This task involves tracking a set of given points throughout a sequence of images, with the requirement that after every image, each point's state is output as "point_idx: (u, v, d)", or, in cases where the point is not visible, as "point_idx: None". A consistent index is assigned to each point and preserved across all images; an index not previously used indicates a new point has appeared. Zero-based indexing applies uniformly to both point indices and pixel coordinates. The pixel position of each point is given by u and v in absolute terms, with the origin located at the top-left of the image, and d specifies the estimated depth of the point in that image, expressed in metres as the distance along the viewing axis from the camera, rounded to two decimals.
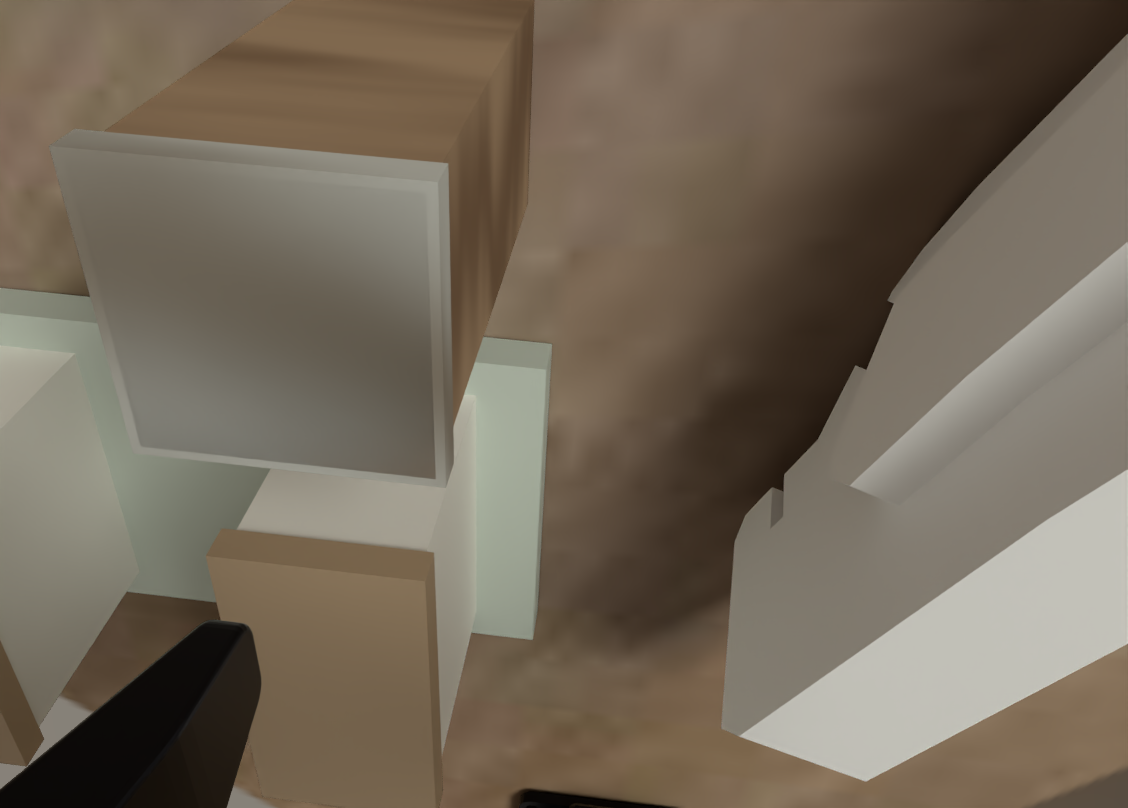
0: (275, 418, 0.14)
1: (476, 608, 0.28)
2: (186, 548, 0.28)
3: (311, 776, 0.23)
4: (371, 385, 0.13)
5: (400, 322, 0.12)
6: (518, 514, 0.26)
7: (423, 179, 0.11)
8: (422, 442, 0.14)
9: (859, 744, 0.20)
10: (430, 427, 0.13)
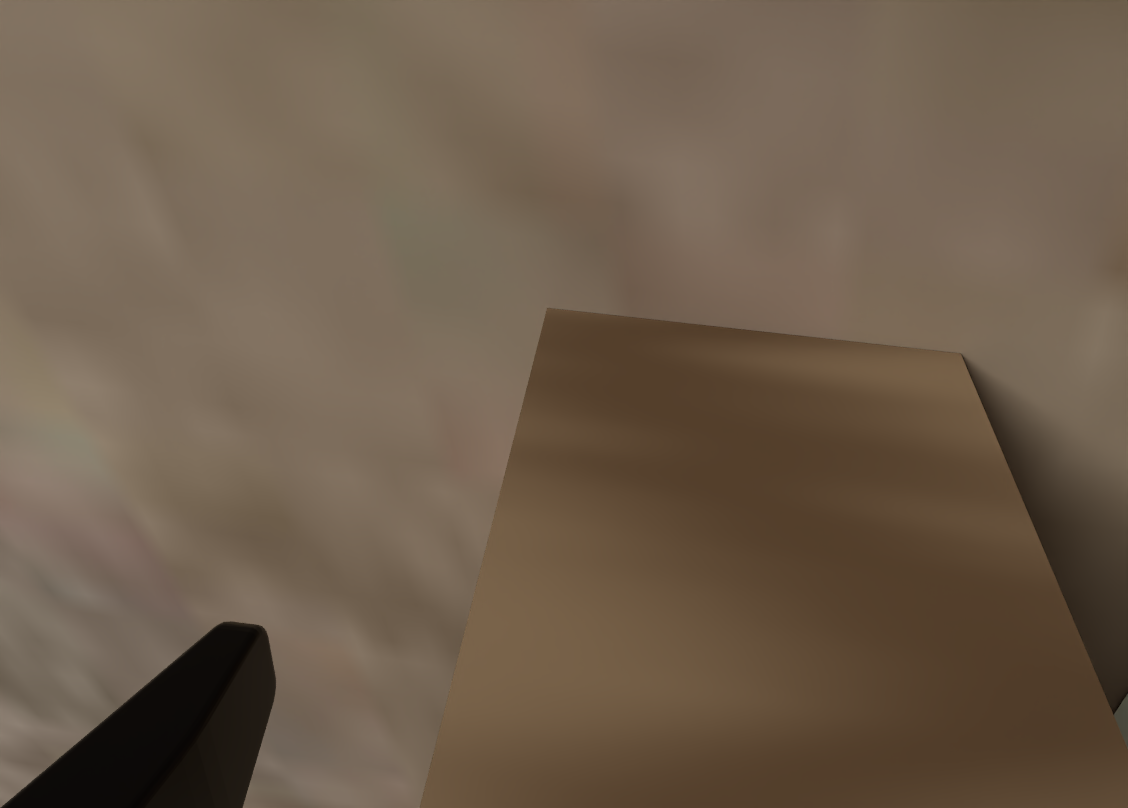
0: None
1: None
2: None
3: None
4: None
5: None
6: None
7: None
8: None
9: None
10: None
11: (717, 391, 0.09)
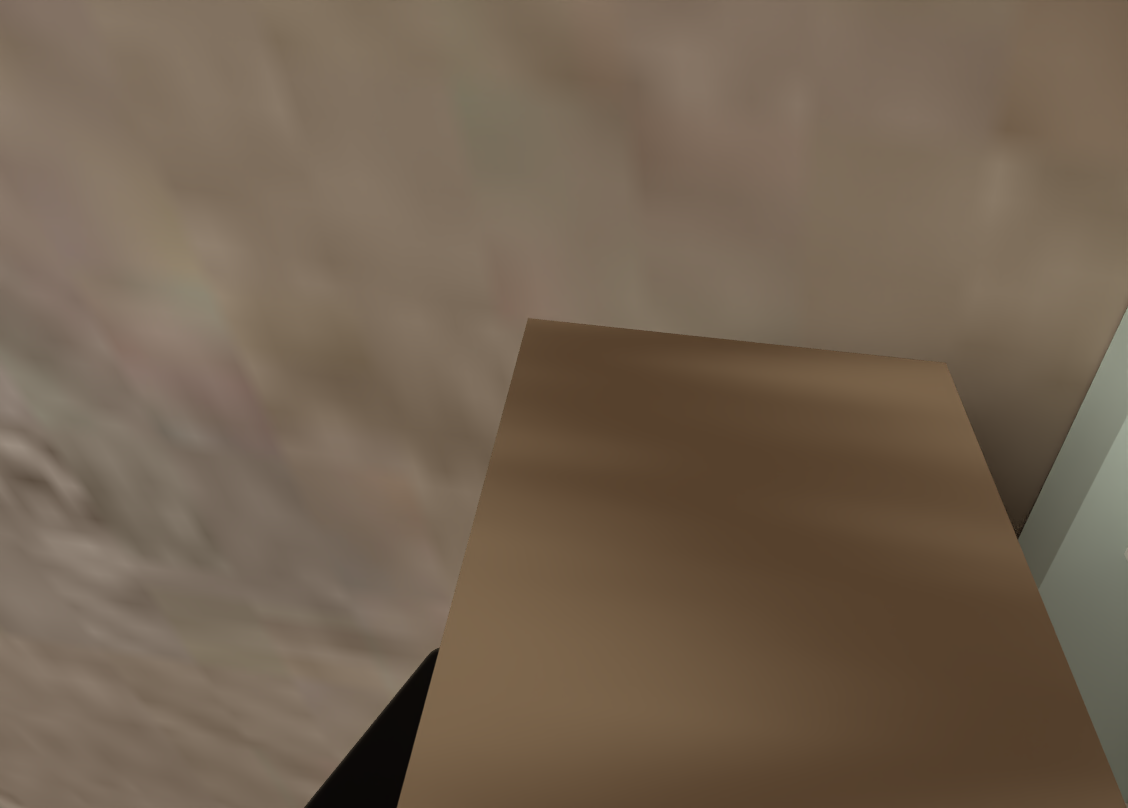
0: None
1: None
2: None
3: None
4: None
5: None
6: None
7: None
8: None
9: None
10: None
11: (699, 403, 0.09)
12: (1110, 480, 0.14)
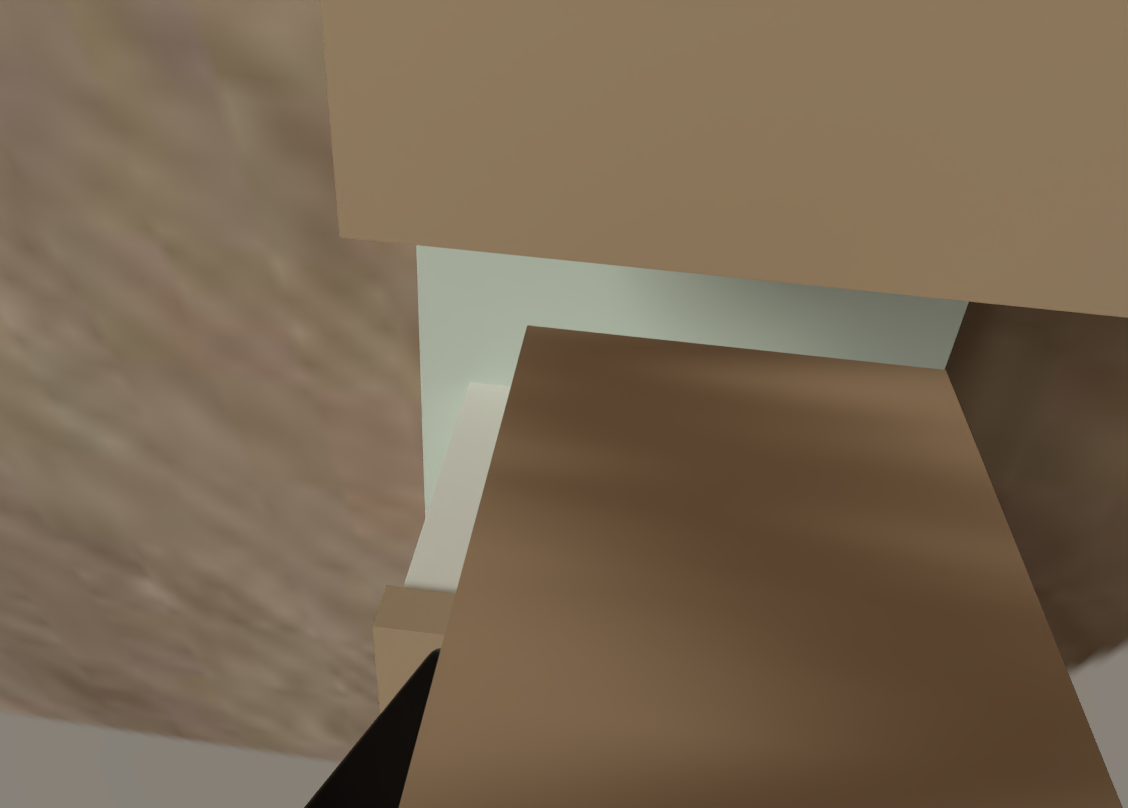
0: None
1: None
2: (826, 345, 0.18)
3: (1083, 179, 0.09)
4: None
5: None
6: None
7: None
8: None
9: None
10: None
11: (698, 411, 0.09)
12: None
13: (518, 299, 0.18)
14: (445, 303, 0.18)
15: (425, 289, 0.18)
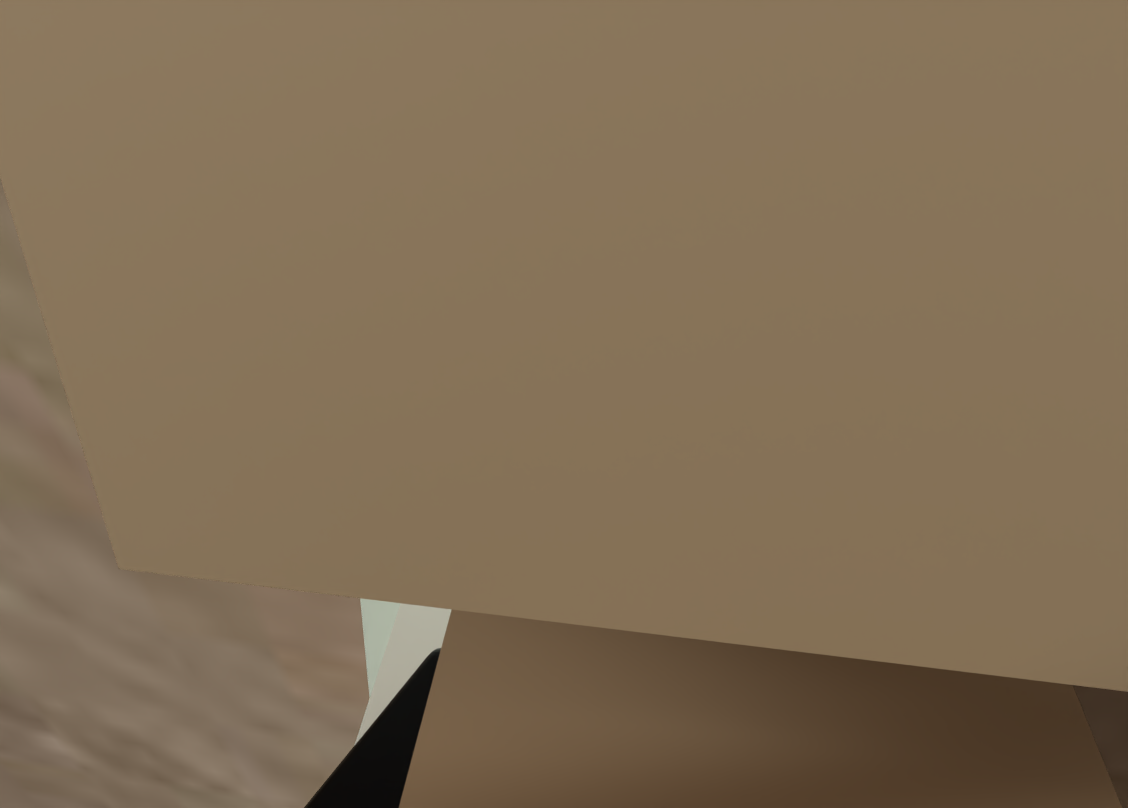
0: None
1: None
2: None
3: None
4: None
5: None
6: None
7: None
8: None
9: None
10: None
11: None
12: None
13: None
14: None
15: None
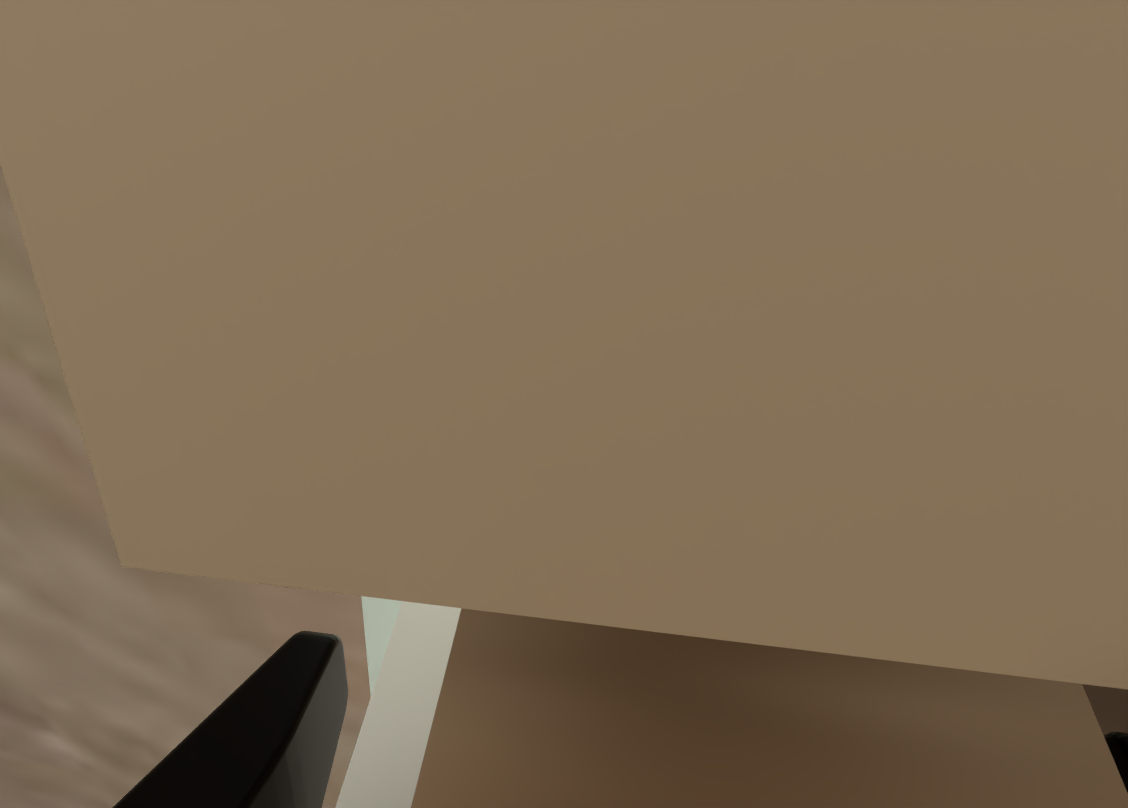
0: None
1: None
2: None
3: None
4: None
5: None
6: None
7: None
8: None
9: None
10: None
11: None
12: None
13: None
14: None
15: None
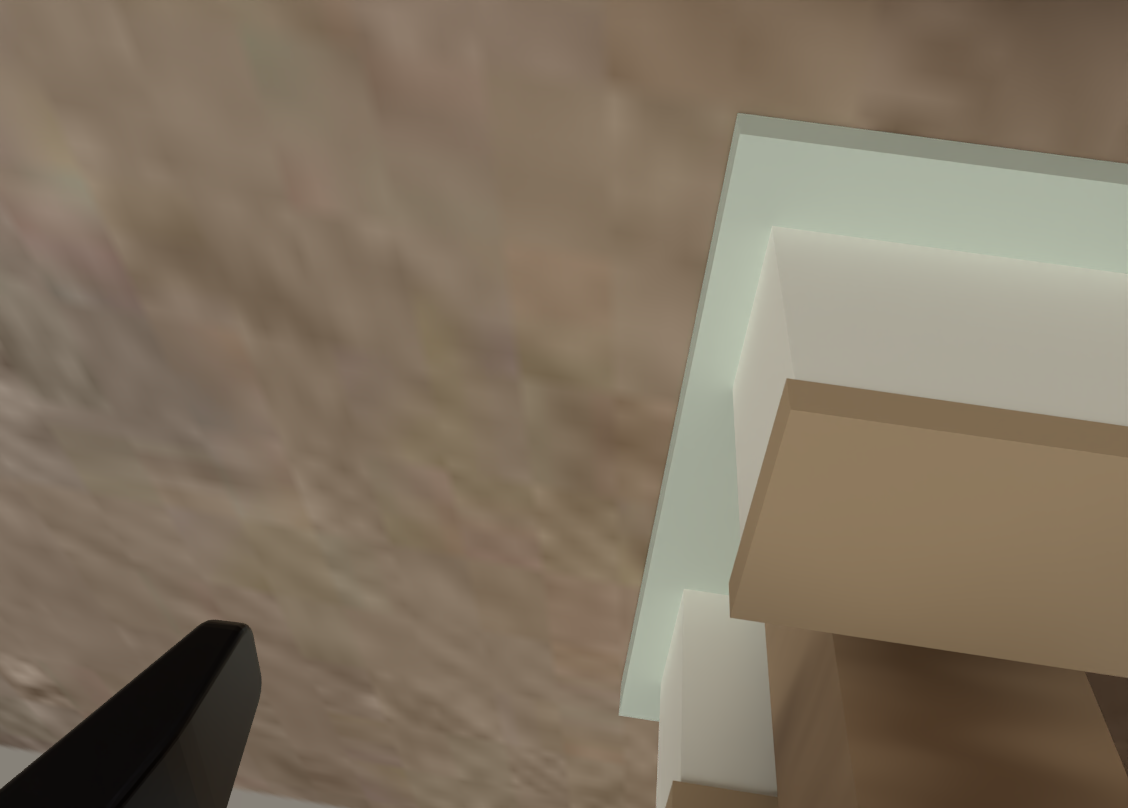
0: None
1: None
2: None
3: None
4: None
5: None
6: (989, 196, 0.18)
7: None
8: None
9: None
10: None
11: None
12: (710, 329, 0.20)
13: (733, 539, 0.24)
14: (677, 538, 0.24)
15: (663, 528, 0.24)
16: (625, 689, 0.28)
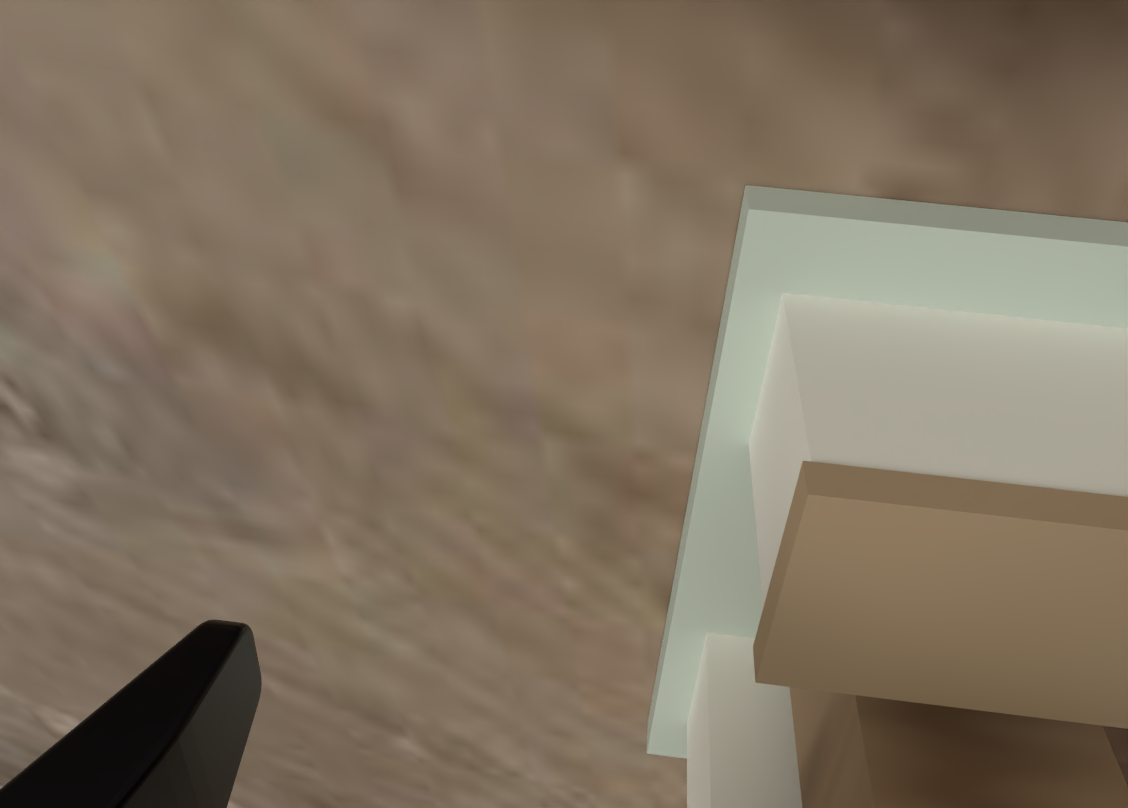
0: None
1: None
2: None
3: None
4: None
5: None
6: (992, 260, 0.19)
7: None
8: None
9: None
10: None
11: None
12: (725, 390, 0.21)
13: (754, 585, 0.24)
14: (699, 585, 0.25)
15: (685, 576, 0.25)
16: (652, 728, 0.28)
